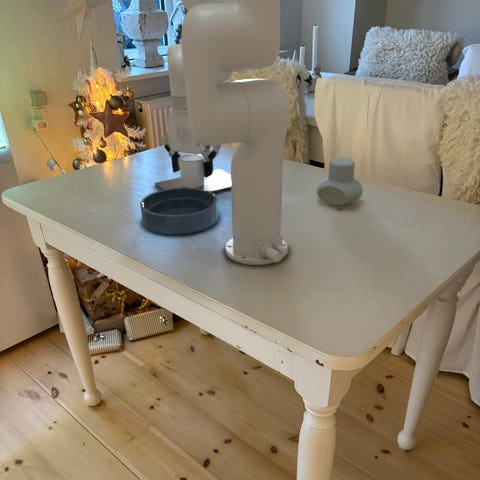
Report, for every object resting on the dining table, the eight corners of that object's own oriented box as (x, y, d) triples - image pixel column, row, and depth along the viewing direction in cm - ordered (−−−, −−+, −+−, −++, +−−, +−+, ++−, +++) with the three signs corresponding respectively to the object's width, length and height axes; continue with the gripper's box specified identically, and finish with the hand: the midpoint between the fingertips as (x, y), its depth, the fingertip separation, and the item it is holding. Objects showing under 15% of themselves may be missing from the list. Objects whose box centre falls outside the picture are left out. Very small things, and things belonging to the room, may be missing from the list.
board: (245, 186, 130) (245, 183, 130) (177, 202, 122) (177, 198, 121) (219, 172, 140) (219, 169, 140) (155, 186, 132) (154, 182, 131)
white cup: (176, 187, 128) (173, 160, 124) (186, 179, 133) (183, 152, 129) (200, 189, 126) (199, 162, 122) (209, 181, 131) (208, 154, 127)
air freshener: (365, 200, 120) (371, 160, 115) (352, 212, 115) (357, 169, 109) (325, 192, 125) (328, 153, 120) (310, 203, 120) (313, 162, 114)
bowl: (231, 223, 111) (230, 204, 108) (161, 242, 103) (159, 222, 101) (196, 200, 123) (195, 182, 120) (131, 215, 116) (129, 197, 113)
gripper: (149, 103, 119) (157, 173, 129) (209, 108, 112) (213, 182, 121) (167, 97, 124) (173, 165, 134) (226, 102, 117) (228, 173, 127)
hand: (192, 173), depth 128 cm, fingers open, 9 cm apart
